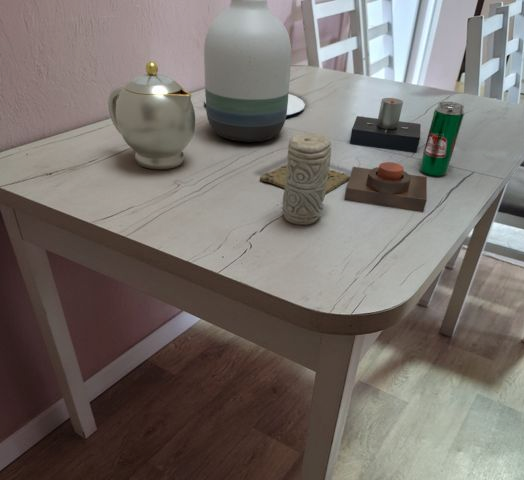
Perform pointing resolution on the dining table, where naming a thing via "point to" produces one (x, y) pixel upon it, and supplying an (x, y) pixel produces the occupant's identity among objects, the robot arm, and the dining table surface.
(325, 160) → the carving
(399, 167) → the release button
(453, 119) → the soda can
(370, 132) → the dial panel
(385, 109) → the dial
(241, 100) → the vase
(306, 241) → the dining table surface
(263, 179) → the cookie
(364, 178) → the button console
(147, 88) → the teapot
